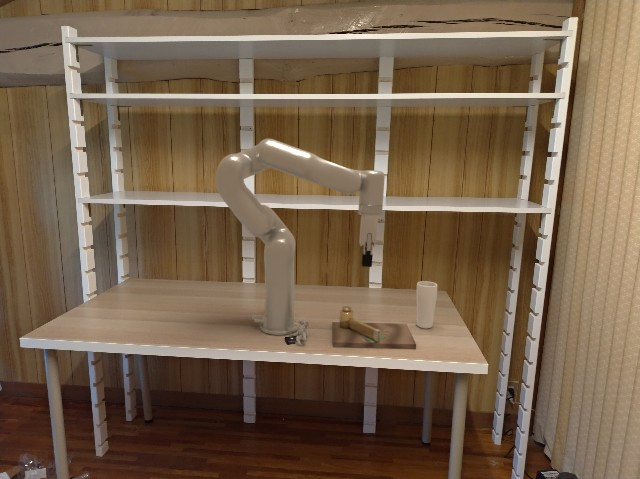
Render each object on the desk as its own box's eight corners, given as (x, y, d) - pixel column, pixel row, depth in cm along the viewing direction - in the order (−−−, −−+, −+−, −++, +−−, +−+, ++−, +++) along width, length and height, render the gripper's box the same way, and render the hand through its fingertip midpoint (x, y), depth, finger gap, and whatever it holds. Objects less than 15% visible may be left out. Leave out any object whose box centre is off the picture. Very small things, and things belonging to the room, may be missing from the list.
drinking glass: (420, 321, 163) (422, 279, 160) (438, 325, 158) (441, 283, 156) (410, 326, 157) (413, 283, 155) (429, 331, 153) (432, 287, 150)
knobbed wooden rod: (336, 325, 152) (337, 307, 151) (347, 322, 155) (347, 304, 154) (373, 343, 139) (374, 323, 137) (384, 339, 141) (384, 320, 140)
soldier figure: (287, 348, 140) (286, 323, 151) (299, 356, 142) (296, 331, 153) (306, 334, 138) (303, 309, 149) (317, 342, 140) (313, 317, 151)
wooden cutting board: (332, 347, 140) (333, 341, 139) (332, 326, 156) (332, 321, 156) (416, 349, 139) (416, 343, 139) (406, 327, 156) (406, 323, 156)
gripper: (358, 206, 154) (354, 260, 158) (359, 212, 140) (355, 271, 143) (380, 207, 154) (376, 261, 157) (384, 213, 139) (379, 272, 143)
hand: (366, 266), depth 150 cm, fingers closed
